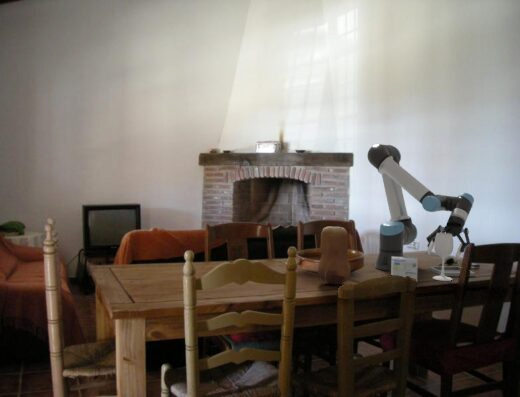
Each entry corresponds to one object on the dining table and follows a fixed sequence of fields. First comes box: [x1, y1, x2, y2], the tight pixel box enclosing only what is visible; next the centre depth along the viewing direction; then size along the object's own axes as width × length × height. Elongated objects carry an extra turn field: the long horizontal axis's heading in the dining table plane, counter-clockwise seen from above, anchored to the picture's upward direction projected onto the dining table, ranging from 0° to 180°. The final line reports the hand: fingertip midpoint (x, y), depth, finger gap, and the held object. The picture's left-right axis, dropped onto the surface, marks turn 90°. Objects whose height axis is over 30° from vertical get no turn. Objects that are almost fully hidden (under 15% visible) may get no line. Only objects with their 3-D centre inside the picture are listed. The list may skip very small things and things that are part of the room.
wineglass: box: [432, 232, 454, 282], centre depth 224 cm, size 9×9×21 cm
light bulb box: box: [390, 256, 419, 282], centre depth 218 cm, size 11×7×11 cm, turn 84°
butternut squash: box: [317, 226, 351, 286], centre depth 209 cm, size 14×13×25 cm
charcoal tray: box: [427, 265, 476, 278], centre depth 239 cm, size 16×16×2 cm
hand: (442, 255), depth 223 cm, fingers open, 13 cm apart
